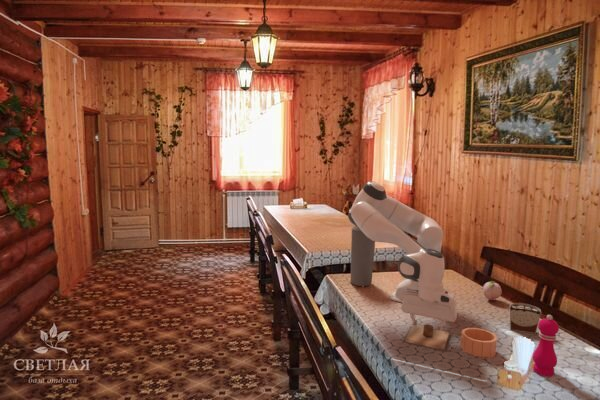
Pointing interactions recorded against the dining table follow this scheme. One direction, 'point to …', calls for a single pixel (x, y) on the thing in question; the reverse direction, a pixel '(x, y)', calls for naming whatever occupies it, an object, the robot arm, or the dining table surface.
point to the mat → (430, 347)
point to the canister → (361, 258)
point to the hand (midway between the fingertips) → (427, 327)
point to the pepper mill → (546, 347)
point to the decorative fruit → (492, 290)
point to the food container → (524, 317)
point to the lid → (427, 336)
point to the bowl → (478, 342)
